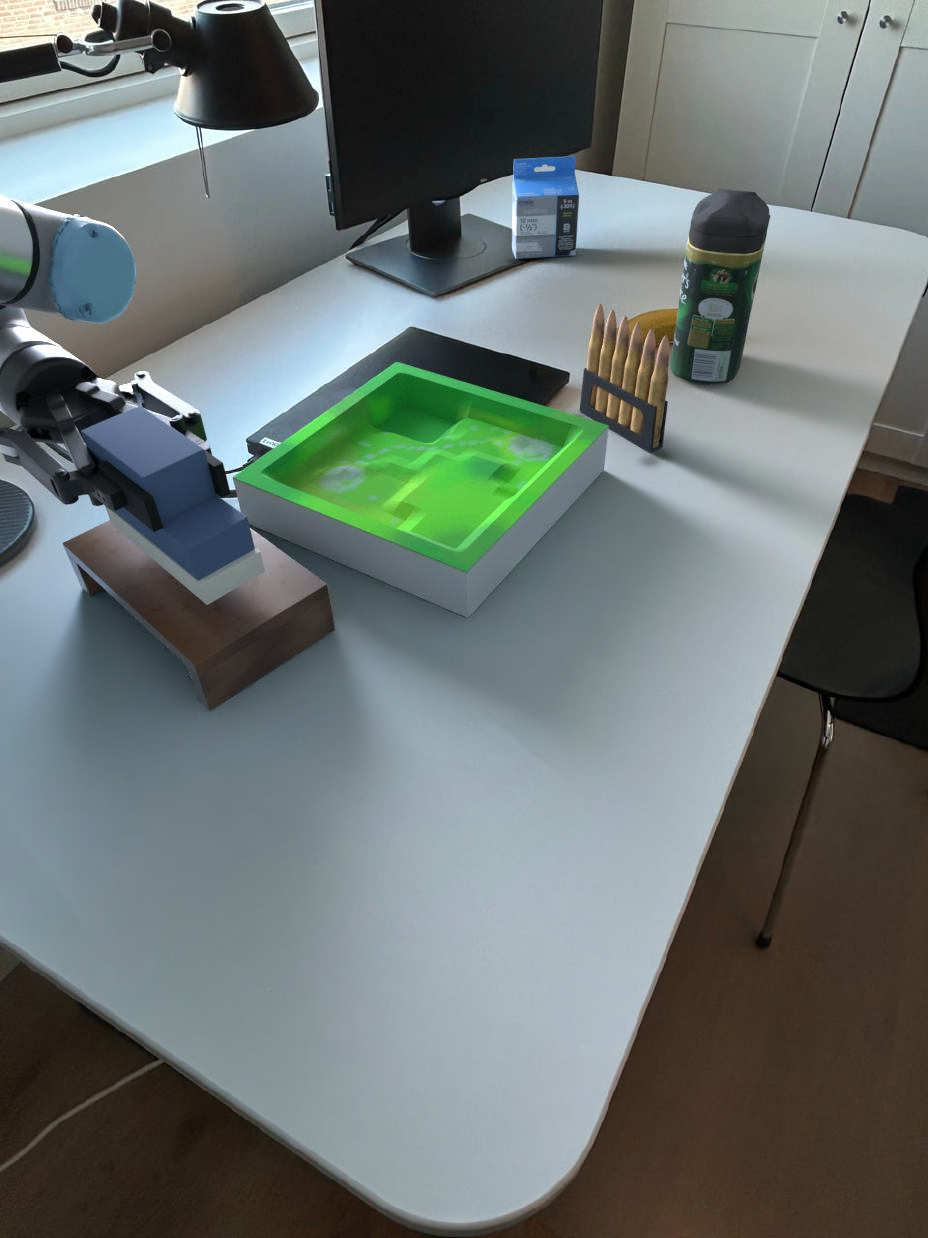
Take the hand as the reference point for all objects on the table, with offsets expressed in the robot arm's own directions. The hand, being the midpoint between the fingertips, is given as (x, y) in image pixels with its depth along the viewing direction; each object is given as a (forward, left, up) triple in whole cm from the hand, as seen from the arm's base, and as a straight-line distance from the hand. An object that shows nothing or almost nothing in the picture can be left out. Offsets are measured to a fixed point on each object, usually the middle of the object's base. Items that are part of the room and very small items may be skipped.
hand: (188, 496), depth 63 cm
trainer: (0, +3, -6) cm, 7 cm away
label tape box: (+76, +32, -13) cm, 84 cm away
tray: (+24, +1, -13) cm, 27 cm away
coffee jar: (+63, -4, -13) cm, 64 cm away
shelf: (0, +3, -13) cm, 13 cm away
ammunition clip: (+46, -5, -13) cm, 48 cm away
